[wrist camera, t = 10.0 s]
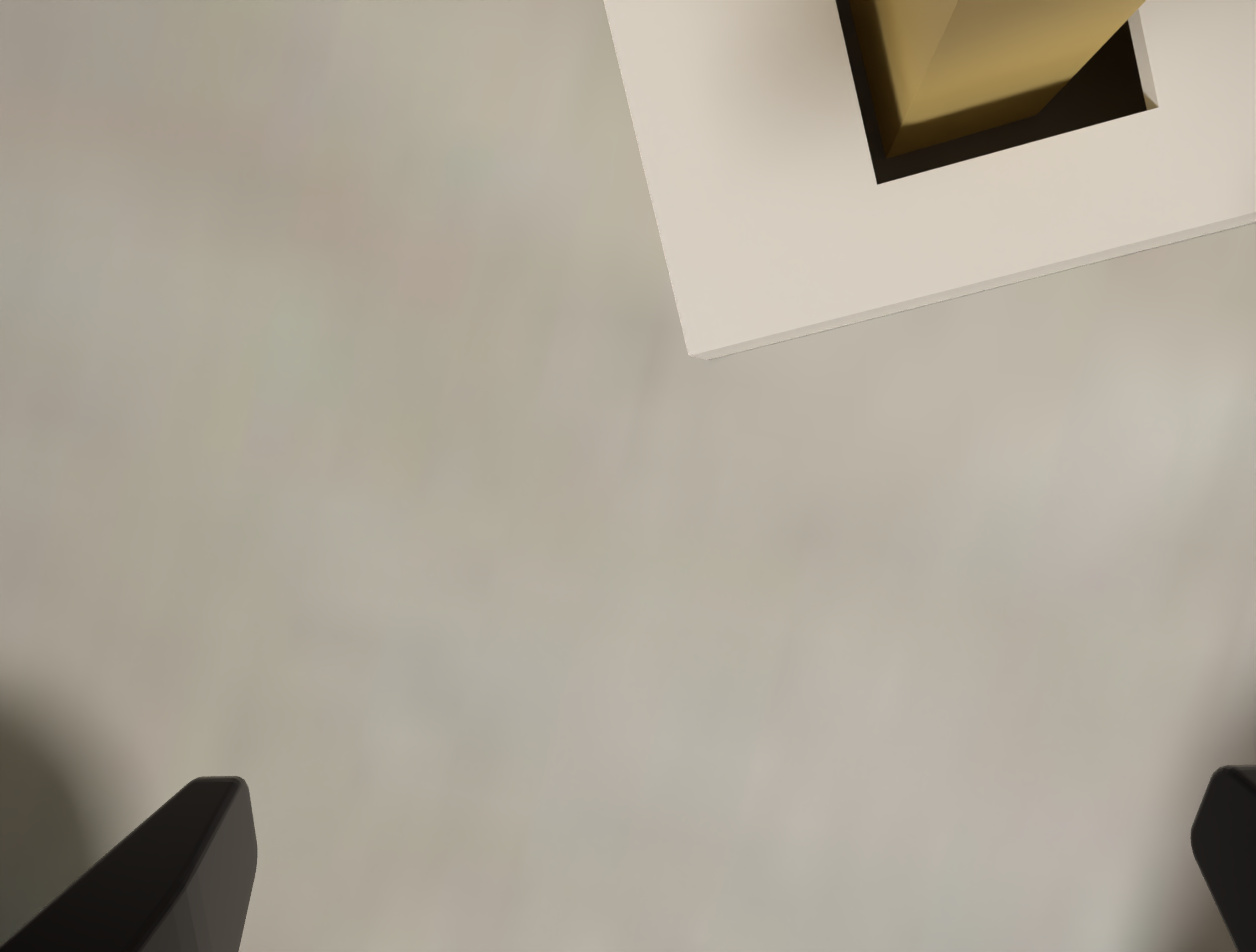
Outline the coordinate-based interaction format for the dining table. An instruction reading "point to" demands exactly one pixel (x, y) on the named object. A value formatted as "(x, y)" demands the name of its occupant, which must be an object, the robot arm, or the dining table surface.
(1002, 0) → the block
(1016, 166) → the white slotted base
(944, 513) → the dining table surface
